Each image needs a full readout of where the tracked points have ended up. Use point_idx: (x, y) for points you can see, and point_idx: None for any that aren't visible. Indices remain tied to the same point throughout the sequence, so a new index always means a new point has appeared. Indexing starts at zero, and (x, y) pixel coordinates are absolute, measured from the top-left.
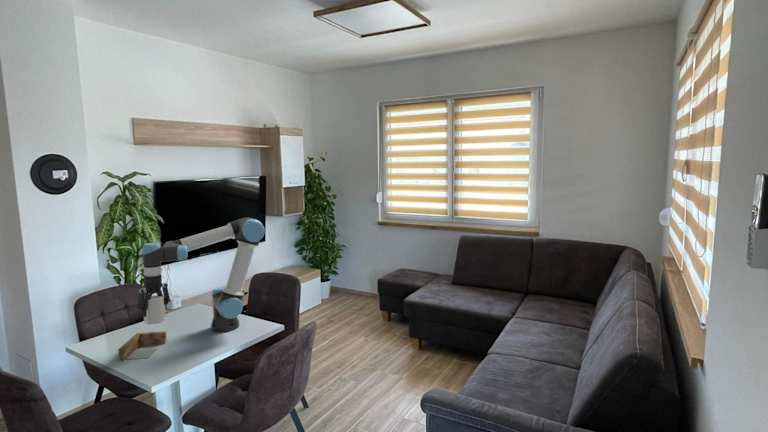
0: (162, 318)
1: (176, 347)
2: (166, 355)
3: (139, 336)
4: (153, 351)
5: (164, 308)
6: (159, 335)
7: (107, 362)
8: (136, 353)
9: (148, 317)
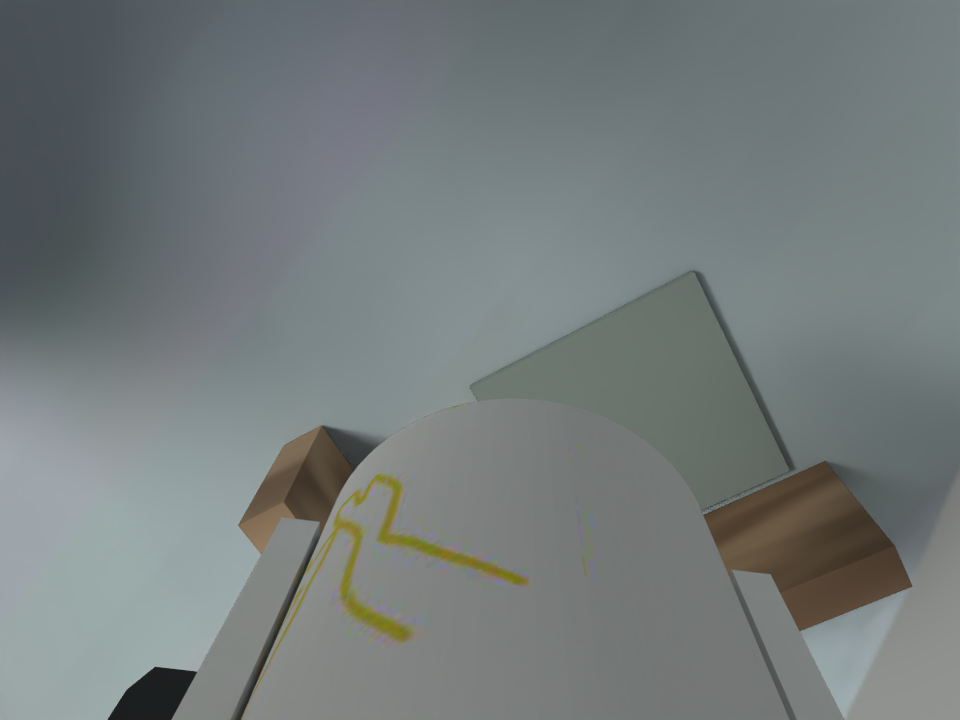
0: (468, 443)
1: (339, 199)
2: (568, 115)
3: None
4: (547, 359)
5: (208, 717)
6: None
7: None
8: None
9: (781, 675)
